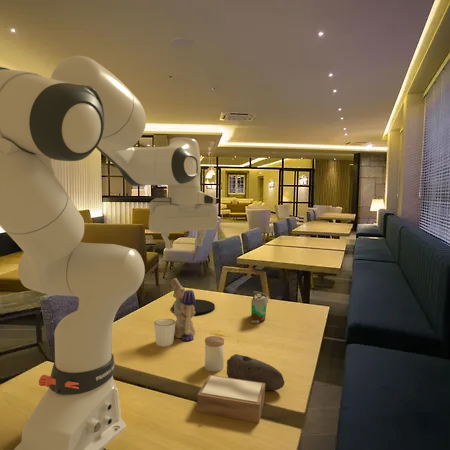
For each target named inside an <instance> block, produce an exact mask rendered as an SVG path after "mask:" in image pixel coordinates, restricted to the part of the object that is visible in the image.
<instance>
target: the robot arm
mask: <svg viewBox="0 0 450 450" xmlns="http://www.w3.org/2000/svg"><path fill="white" fill-rule="evenodd" d="M146 115H147V114H146V111H145V109H144V107H143V105H142V102H141V101H140V99H138V98H137V95H135V94H134V93H133V92H132V91H131V90H130V89H129V88H128V87H127V86H126V85H125V83H124V82H122V81H121V80H120V79H119V78H118V77H117V76H115V74H114V73H112V72H111V71H109V70H108V69H107V68H106V67H104V66H103V65H102V64H100V63H98V62H97V61H96V60H95V59H92V58H91V57H88V56H84V55H73V56H68V57H66V58H65V59H63V60H61V62H59V63H58V64H57V65H56V67H55V68H54V70H53V71H52V73H51V75H50V77H46V76H42V75H40V74H38V73H34V72H29V71H25V70H18V69H10V68H8V67H3V66H0V227H1V228H2V230H3V231H4V232H5V233H6V234H7V235H8V236H9V237H10V238H11V239H12V241H14V242H15V243H16V245H18V247H19V248H20V249H21V250H22V251H23V253H22V255H21V257H20V258H19V261H18V265H17V266H18V267H17V272H18V273H17V274H18V277H19V280H20V283H21V284H22V286H24V288H27V289H29V290H31V291H34V292H38V293H41V294H45V295H49V296H63V297H64V296H66V297H77V298H78V307H77V310H74V311H73V312H71V313H69V314H67V315H66V316H64V317H63V318H61V320H60V321H59V323H57V325H56V327H55V330H54V334H53V336H54V363H53V365H52V369H51V374H50V375H47V374H42V375H41V376H40V377H39V379H38V382H37V383H38V386H40V387H46V388H47V390H46V391H45V393H44V394H43V396H42V397H41V399H40V401H38V403H37V405H36V406H35V408H34V410H33V411H32V413H31V414H30V416H29V417H28V418H27V420H26V422H25V423H24V425H23V428H22V434H21V440H20V442H19V443H18V445H17V446H16V447H15V448H14V449H13V450H105V449H106V448H105V447H106V446H107V445H108V444H110V443H111V442H112V441H113V440H114V439H115V438H116V437H117V436H119V435H120V434H121V433H122V432H123V431H125V429H126V427H127V424H126V422H125V421H124V419H123V418H122V412H121V411H122V410H121V401H120V394H119V390H118V386H117V384H116V382H115V379H114V374H115V365H116V364H115V359H114V357H115V356H114V353H112V352H113V351H112V350H113V346H112V345H113V344H112V343H113V342H112V341H113V340H112V339H113V327H114V322H115V321H114V320H115V319H116V314H118V313H117V312H118V310H119V308H120V307H121V306H122V305H123V303H125V302H126V300H127V299H129V298H130V297H131V296H132V295H134V294H135V293H136V292H137V291H138V290H139V289H140V287H141V285H142V284H143V282H144V279H145V273H146V269H145V263H144V260H143V258H142V256H141V254H140V253H139V251H138V250H137V249H135V248H132V247H131V248H130V247H128V246H124V245H119V244H116V243H98V242H97V243H95V242H94V243H93V242H83V241H82V239H83V238H84V235H85V221H84V217H83V216H82V214H81V213H80V211H79V209H78V208H77V206H76V205H75V203H74V201H73V200H72V198H71V197H70V196H69V194H68V192H67V191H66V189H65V188H64V186H63V185H62V183H61V181H59V179H58V178H57V176H56V175H55V171H54V169H53V165H52V160H54V161H62V162H77V161H81V160H84V159H86V158H88V157H89V156H90V155H91V154H92V153H93V152H94V151H95V150H96V149H97V151H99V153H100V154H102V155H103V156H104V157H105V158H106V159H107V160H108V161H109V162H110V163H111V164H113V165H114V166H115V167H116V168H117V170H119V172H120V173H121V175H122V177H123V179H124V180H125V181H126V182H127V183H128V184H129V185H131V186H133V187H143V186H168V197H154V199H151V200H150V202H149V204H148V211H149V215H148V216H149V218H148V230H149V231H150V232H151V233H155V234H156V233H157V234H159V233H160V234H161V238H162V240H163V241H164V242H165V245H164V246H165V249H167V250H168V249H173V247H174V242H173V241H171V240H170V239H169V237H170V233H175V232H176V233H179V232H193V231H198V234H199V235H198V238H196V239H195V240H194V242H195V244H194V245H195V246H196V247H202V246H203V243H204V242H203V240H204V239H205V238H206V236H207V231H209V230H213V231H214V230H216V229H217V228H218V224H219V223H218V221H219V219H218V209H217V207H216V206H215V204H216V203H217V198H216V197H215V196H214V195H210V194H208V193H206V192H203V191H201V183H200V175H201V171H202V170H201V167H202V166H201V154H200V153H201V151H200V145H199V143H198V141H197V140H196V139H194V138H192V137H187V136H176V137H173V138H171V140H170V144H168V145H166V146H151V147H149V146H147V147H140V146H134V145H136V144H137V143H138V142H139V141H140V139H141V138H142V136H143V135H144V132H145V130H146V124H147V119H146V118H147V116H146Z"/></svg>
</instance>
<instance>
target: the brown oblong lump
mask: <svg viewBox="0 0 450 450" xmlns="http://www.w3.org/2000/svg"><path fill="white" fill-rule="evenodd" d="M226 374H227V377H228V378H234V379H241V380H247V381H254V382H261V383H265V391H277V390H281V389H282V388H283V387H284V386H285V381H284V380H285V379H284V376H283V375H282V372H280V371H279V370H278V369H276V368H275V367H274V366H272V365H270V364H269V363H266V362H264V361H261V360H259V359H257V358H254V357H250V356H247V355H241V354H237V353H235V354H233V355H231V356H230V357H229V358H228V359H227V361H226Z"/></svg>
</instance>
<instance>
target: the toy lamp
mask: <svg viewBox="0 0 450 450" xmlns="http://www.w3.org/2000/svg"><path fill="white" fill-rule="evenodd" d="M195 299H196V296H195V292H194V290H192V289H188V290H186V289H185V292H184V295H183V298H182V304H185V305H186V312H187V313H186V317H185V320H186V321H185V334H183V335H182V337H181V338H180V341H181V342H183V343H184V342H186V343H190V342H192V341H193V340H194V336H192V335H191V334H190V319H191V320H192V318H190V316H191V313H190V312H191V305H193V304H195V303H196V301H195Z"/></svg>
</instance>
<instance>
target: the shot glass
mask: <svg viewBox="0 0 450 450" xmlns="http://www.w3.org/2000/svg"><path fill="white" fill-rule="evenodd" d="M175 321H176V320H174V319H172V318H160V319H157V320H155V321H154V322H153V327H154V335H155V345H157V346H158V347H169V346H172V345H174V340H175V336H174V332H175Z"/></svg>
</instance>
